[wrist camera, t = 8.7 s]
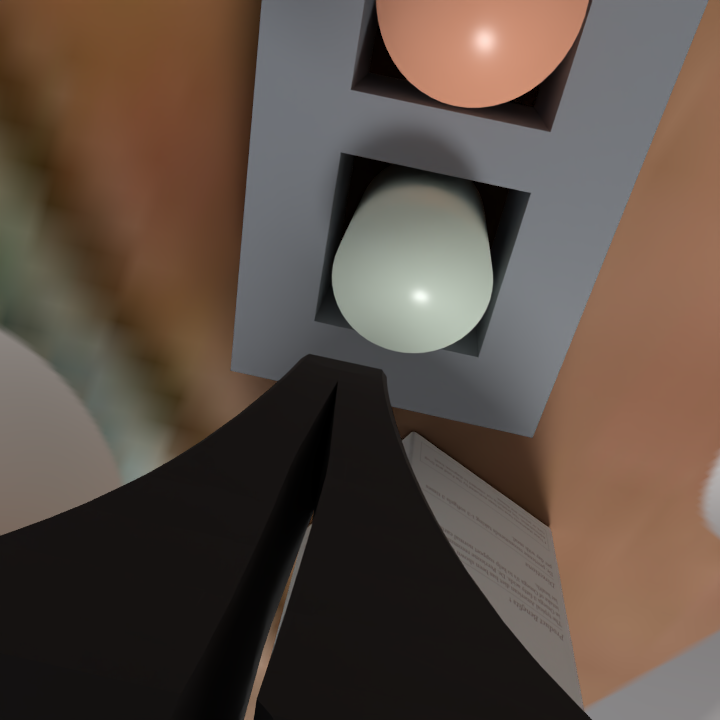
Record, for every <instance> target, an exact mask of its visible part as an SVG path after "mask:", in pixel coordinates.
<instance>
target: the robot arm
mask: <svg viewBox="0 0 720 720" xmlns="http://www.w3.org/2000/svg"><path fill="white" fill-rule="evenodd" d="M313 511H314V515H313V521H312V526H311V530H310V533H309V536H308V540H307V543H306V547H305V550H304V553H303V557H302V560H301V563H300V566H299V570H298V573H297V576H296V579H295V583H294V586H293V589H292V592H291V596H290V599H289V602H288V605H287V609H286V612H285V615H284V618H283V621H282V624H281V627H280V630H279V633H278V636H277V639H276V643H275V646H274V649H273V652H272V655H271V658H270V661H269V664H268V667H267V670H266V673H265V676H264V679H263V682H262V685H261V688H260V691H259V694H258V697H257V701H256V708H255V715H254V720H592V719H590V717H589V716H588V715H587V714H586V713H585V712H584V711H583V710H582V709H581V708H580V707H579V706H578V705H577V704H576V702H575V701H574V700H573V699H572V698H571V697H570V696H569V695H568V694H567V693H566V692H565V691H564V690H563V689H562V688H561V687H560V686H559V685H558V683H557V682H556V681H555V680H554V679H553V678H552V677H551V676H550V675H549V674H548V673H547V672H546V671H545V670H544V669H543V668H542V667H541V666H540V664H539V663H538V662H537V661H536V660H535V659H534V658H533V656H532V655H531V654H530V653H529V652H528V650H527V649H526V648H525V647H524V646H523V644H522V643H521V642H520V641H519V640H518V638H517V637H516V636H515V635H514V634H513V632H512V631H511V630H510V629H509V627H508V626H507V625H506V624H505V623H504V621H503V620H502V619H501V617H500V616H499V614H498V613H497V612H496V610H495V609H494V607H493V606H492V605H491V603H490V602H489V601H488V599H487V598H486V596H485V595H484V594H483V592H482V591H481V589H480V588H479V587H478V585H477V584H476V583H475V581H474V580H473V578H472V577H471V576H470V574H469V573H468V571H467V570H466V568H465V567H464V565H463V563H462V562H461V560H460V559H459V557H458V555H457V554H456V552H455V551H454V549H453V547H452V546H451V544H450V543H449V541H448V539H447V537H446V536H445V534H444V532H443V530H442V529H441V527H440V525H439V523H438V521H437V520H436V518H435V516H434V514H433V512H432V510H431V508H430V506H429V504H428V502H427V500H426V498H425V496H424V494H423V492H422V490H421V487H420V485H419V483H418V481H417V478H416V476H415V474H414V472H413V469H412V467H411V464H410V462H409V459H408V457H407V454H406V451H405V448H404V446H403V443H402V440H401V437H400V434H399V431H398V428H397V425H396V422H395V418H394V415H393V411H392V407H391V403H390V398H389V393H388V387H387V376H386V375H385V373H384V372H383V370H382V369H378V368H373V367H369V366H364V365H359V364H355V363H350V362H345V361H341V360H336V359H332V358H327V357H322V356H318V355H313V354H308V355H306V356H304V357H302V358H301V359H300V360H299V361H298V362H297V363H296V364H295V365H294V366H293V367H292V368H291V369H290V370H289V371H288V372H287V373H286V374H285V375H284V376H283V377H282V378H281V379H280V380H279V381H278V382H277V383H275V384H274V385H273V386H272V387H271V388H270V389H269V390H268V391H266V392H265V393H264V394H263V395H262V396H260V397H259V398H258V399H257V400H256V401H254V402H253V403H252V404H251V405H250V406H248V407H247V408H246V409H245V410H243V411H242V412H241V413H240V414H238V415H237V416H236V417H234V418H233V419H232V420H230V421H229V422H227V423H226V424H225V425H223V426H222V427H220V428H219V429H218V430H216V431H215V432H214V433H212V434H211V435H209V436H208V437H207V438H205V439H204V440H202V441H201V442H199V443H198V444H196V445H195V446H193V447H191V448H190V449H188V450H187V451H185V452H184V453H182V454H180V455H179V456H177V457H175V458H174V459H172V460H170V461H169V462H167V463H165V464H163V465H162V466H160V467H158V468H156V469H155V470H153V471H151V472H149V473H147V474H146V475H144V476H142V477H140V478H138V479H136V480H134V481H132V482H130V483H128V484H126V485H123V486H121V487H119V488H117V489H115V490H113V491H111V492H109V493H107V494H105V495H102V496H100V497H98V498H96V499H94V500H92V501H90V502H87V503H85V504H83V505H80V506H78V507H75V508H73V509H70V510H68V511H66V512H63V513H60V514H58V515H56V516H53V517H51V518H48V519H45V520H43V521H40V522H37V523H34V524H32V525H29V526H26V527H24V528H21V529H18V530H16V531H13V532H10V533H7V534H4V535H1V536H0V720H244V717H245V713H246V710H247V706H248V702H249V699H250V695H251V691H252V688H253V684H254V680H255V676H256V673H257V669H258V665H259V662H260V658H261V654H262V651H263V648H264V645H265V642H266V639H267V636H268V633H269V630H270V627H271V624H272V621H273V618H274V616H275V613H276V610H277V608H278V605H279V602H280V600H281V597H282V594H283V592H284V589H285V586H286V584H287V581H288V578H289V576H290V573H291V570H292V568H293V565H294V562H295V559H296V557H297V554H298V551H299V549H300V546H301V543H302V541H303V538H304V535H305V533H306V530H307V527H308V525H309V522H310V519H311V516H312V514H313Z"/></svg>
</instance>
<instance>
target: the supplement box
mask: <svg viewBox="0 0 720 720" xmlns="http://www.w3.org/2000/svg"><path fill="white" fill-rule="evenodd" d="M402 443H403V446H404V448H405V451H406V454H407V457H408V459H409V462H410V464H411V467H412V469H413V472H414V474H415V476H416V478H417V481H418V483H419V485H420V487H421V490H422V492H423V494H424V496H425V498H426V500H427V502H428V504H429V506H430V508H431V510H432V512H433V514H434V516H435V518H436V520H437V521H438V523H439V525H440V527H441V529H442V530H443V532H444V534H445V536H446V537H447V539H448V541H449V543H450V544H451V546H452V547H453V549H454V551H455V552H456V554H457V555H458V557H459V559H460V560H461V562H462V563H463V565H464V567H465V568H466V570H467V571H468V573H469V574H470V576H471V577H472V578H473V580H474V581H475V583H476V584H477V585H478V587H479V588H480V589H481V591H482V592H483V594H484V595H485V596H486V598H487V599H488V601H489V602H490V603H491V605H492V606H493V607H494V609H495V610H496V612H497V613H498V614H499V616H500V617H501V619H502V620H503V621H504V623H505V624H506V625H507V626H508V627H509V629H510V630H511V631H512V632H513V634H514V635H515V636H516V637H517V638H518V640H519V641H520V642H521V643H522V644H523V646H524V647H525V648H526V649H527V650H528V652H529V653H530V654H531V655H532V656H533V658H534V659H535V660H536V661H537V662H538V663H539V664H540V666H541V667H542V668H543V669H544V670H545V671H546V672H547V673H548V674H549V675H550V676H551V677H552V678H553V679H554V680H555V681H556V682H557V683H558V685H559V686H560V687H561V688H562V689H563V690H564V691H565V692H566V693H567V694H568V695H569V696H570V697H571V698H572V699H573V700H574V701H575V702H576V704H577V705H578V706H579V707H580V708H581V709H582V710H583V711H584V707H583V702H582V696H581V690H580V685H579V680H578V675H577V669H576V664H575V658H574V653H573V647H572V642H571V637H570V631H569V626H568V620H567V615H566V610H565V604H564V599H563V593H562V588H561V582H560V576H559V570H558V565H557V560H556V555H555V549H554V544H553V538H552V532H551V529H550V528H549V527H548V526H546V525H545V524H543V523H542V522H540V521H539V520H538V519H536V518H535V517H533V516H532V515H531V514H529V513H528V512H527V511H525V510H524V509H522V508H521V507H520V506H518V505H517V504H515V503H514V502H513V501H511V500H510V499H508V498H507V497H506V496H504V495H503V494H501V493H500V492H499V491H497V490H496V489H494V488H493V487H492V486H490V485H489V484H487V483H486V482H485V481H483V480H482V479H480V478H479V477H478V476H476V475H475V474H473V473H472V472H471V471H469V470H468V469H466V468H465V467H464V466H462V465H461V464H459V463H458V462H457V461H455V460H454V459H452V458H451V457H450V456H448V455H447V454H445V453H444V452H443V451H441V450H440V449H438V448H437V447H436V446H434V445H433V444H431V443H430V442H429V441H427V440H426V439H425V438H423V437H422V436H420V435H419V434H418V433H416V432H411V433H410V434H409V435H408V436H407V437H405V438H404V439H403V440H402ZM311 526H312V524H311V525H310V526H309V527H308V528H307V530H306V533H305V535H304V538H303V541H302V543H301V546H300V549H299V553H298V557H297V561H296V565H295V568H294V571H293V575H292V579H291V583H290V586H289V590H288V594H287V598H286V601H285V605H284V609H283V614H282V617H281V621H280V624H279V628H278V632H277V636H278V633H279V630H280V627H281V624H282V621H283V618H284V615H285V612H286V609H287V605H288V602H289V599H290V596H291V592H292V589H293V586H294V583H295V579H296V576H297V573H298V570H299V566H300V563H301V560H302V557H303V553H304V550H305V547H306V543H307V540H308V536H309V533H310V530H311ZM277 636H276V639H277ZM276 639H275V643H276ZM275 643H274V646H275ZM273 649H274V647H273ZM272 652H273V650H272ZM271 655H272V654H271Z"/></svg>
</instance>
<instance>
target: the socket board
mask: <svg viewBox="0 0 720 720" xmlns="http://www.w3.org/2000/svg"><path fill="white" fill-rule="evenodd" d="M707 3H708V0H589V2H588V6H587V10H586V14H585V17H584V20H583V23H582V25H581V28H580V31H579V33H578V35H577V37H576V39H575V41H574V43H573V45H572V47H571V48H570V50H569V51H568V53H567V54H566V56H565V57H564V59H563V60H562V61H561V62H560V64H559V65H558V66H557V67H556V68H555V70H554V71H553V72H552V73H551V74H550V75H549V76H547V77H546V78H545V79H544V80H543V81H542V82H541V85H540V88H539V92H538V95H537V98H536V101H535V105H534V107H530V106H526V105H521V104H516V103H512V102H505V103H502V104H498V105H494V106H488V107H481V108H466V107H459V106H453V105H450V104H446V103H443V102H440V101H438V100H436V99H434V98H431V97H430V96H428V95H426V94H425V93H423V92H422V91H420V90H419V89H418V88H416V87H415V86H414V85H413V84H412V83H410V82H409V81H407V80H402V79H398V78H393V77H388V76H384V75H379V74H374V73H369V71H370V65H371V59H372V53H373V48H374V42H375V36H376V30H377V24H378V16H377V7H376V0H262V5H261V17H260V29H259V40H258V52H257V64H256V76H255V88H254V100H253V112H252V123H251V135H250V147H249V159H248V171H247V183H246V195H245V206H244V218H243V230H242V242H241V254H240V266H239V278H238V289H237V301H236V313H235V325H234V337H233V349H232V361H231V371H235V372H239V373H244V374H248V375H253V376H257V377H262V378H266V379H271V380H275V381H279V380H280V379H281V378H282V377H283V376H284V375H285V374H286V373H287V372H288V371H289V370H290V369H291V368H292V367H293V366H294V365H295V364H296V363H297V362H298V361H299V360H300V359H301V358H302V357H304V356H306V355H308V354H313V355H318V356H322V357H327V358H332V359H336V360H341V361H345V362H350V363H355V364H359V365H364V366H369V367H373V368H378V369H382V370H383V372H384V373H385V375H386V376H387V387H388V393H389V398H390V403H391V406H392V407H396V408H401V409H405V410H410V411H414V412H419V413H423V414H428V415H432V416H437V417H441V418H446V419H450V420H455V421H459V422H464V423H468V424H473V425H477V426H482V427H486V428H491V429H495V430H500V431H504V432H509V433H513V434H518V435H522V436H527V437H531V438H533V435H534V433H535V430H536V428H537V425H538V423H539V420H540V418H541V415H542V413H543V410H544V408H545V405H546V403H547V400H548V398H549V395H550V393H551V390H552V388H553V385H554V383H555V380H556V378H557V375H558V373H559V371H560V368H561V366H562V363H563V361H564V358H565V356H566V353H567V351H568V348H569V346H570V343H571V341H572V338H573V336H574V333H575V331H576V328H577V326H578V323H579V321H580V318H581V316H582V313H583V311H584V308H585V306H586V303H587V301H588V298H589V296H590V294H591V291H592V289H593V286H594V284H595V281H596V279H597V276H598V274H599V271H600V269H601V266H602V264H603V261H604V259H605V256H606V254H607V251H608V249H609V246H610V244H611V241H612V239H613V236H614V234H615V231H616V229H617V226H618V224H619V221H620V219H621V216H622V214H623V212H624V209H625V207H626V204H627V202H628V199H629V197H630V194H631V192H632V189H633V187H634V184H635V182H636V179H637V177H638V174H639V172H640V169H641V167H642V164H643V162H644V159H645V157H646V154H647V152H648V149H649V147H650V144H651V142H652V139H653V137H654V134H655V132H656V130H657V127H658V125H659V122H660V120H661V117H662V115H663V112H664V110H665V107H666V105H667V102H668V100H669V97H670V95H671V92H672V90H673V87H674V85H675V82H676V80H677V77H678V75H679V72H680V70H681V67H682V65H683V62H684V60H685V57H686V55H687V53H688V50H689V48H690V45H691V43H692V40H693V38H694V35H695V33H696V30H697V28H698V25H699V23H700V20H701V18H702V15H703V13H704V10H705V8H706V5H707ZM355 155H356V156H361V157H365V158H370V159H375V160H379V161H384V162H389V163H393V164H398V165H403V166H407V167H412V168H417V169H421V170H426V171H431V172H435V173H440V174H445V175H449V176H454V177H459V178H463V179H468V180H473V181H477V182H482V183H487V184H491V185H496V186H501V187H505V188H509V191H508V195H507V198H506V201H505V204H504V208H503V211H502V214H501V218H500V221H499V224H498V228H497V231H496V234H495V238H494V241H493V244H492V248H491V251H490V255H491V263H492V271H493V287H492V293H491V298H490V301H489V304H488V306H487V309H486V311H485V313H484V314H483V316H482V318H481V319H480V321H479V322H478V323H477V325H476V326H475V327H474V328H473V329H472V330H471V331H470V332H469V333H468V334H466V335H465V336H464V337H463V338H461V339H460V340H458V341H456V342H455V343H453V344H451V345H449V346H447V347H444V348H441V349H438V350H435V351H430V352H425V353H403V352H397V351H393V350H389V349H385V348H383V347H381V346H378V345H376V344H374V343H372V342H370V341H369V340H367V339H366V338H364V337H363V336H361V335H360V334H359V333H358V332H357V331H356V330H355V329H354V328H352V326H351V325H350V324H349V323H348V322H347V320H346V319H345V317H344V316H343V314H342V313H341V311H340V309H339V307H338V305H337V302H336V299H335V296H334V291H333V286H332V270H333V263H334V259H335V256H336V253H337V250H338V248H339V246H340V242H341V236H342V230H343V224H344V219H345V213H346V207H347V201H348V195H349V189H350V183H351V177H352V171H353V166H354V160H355Z"/></svg>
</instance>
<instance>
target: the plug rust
mask: <svg viewBox="0 0 720 720" xmlns="http://www.w3.org/2000/svg"><path fill="white" fill-rule="evenodd" d="M588 2H589V0H376V7H377V16H378V22H379V26H380V31H381V35H382V38H383V40H384V43H385V46H386V48H387V50H388V52H389V54H390V56H391V58H392V60H393V62H394V63H395V65H396V66H397V67H398V69H399V70H400V72H401V73H402V74H403V75H404V76H405V77H406V78H407V80H408V81H409V82H410V83H412V84H413V85H414V86H415V87H416V88H418V89H419V90H420V91H422V92H423V93H425V94H426V95H428V96H430V97H431V98H434V99H436V100H438V101H440V102H443V103H446V104H450V105H453V106H459V107H466V108H481V107H488V106H494V105H498V104H502V103H505V102H508V101H510V100H513V99H515V98H517V97H519V96H521V95H523V94H525V93H526V92H528V91H530V90H531V89H533V88H534V87H535V86H537V85H538V84H539V83H541V82H542V81H543V80H544V79H545V78H546V77H547V76H549V75H550V74H551V73H552V72H553V71H554V70H555V68H556V67H557V66H558V65H559V64H560V62H561V61H562V60H563V59H564V57H565V56H566V54H567V53H568V51H569V50H570V48H571V47H572V45H573V43H574V41H575V39H576V37H577V35H578V33H579V31H580V28H581V25H582V23H583V20H584V17H585V14H586V10H587V6H588Z"/></svg>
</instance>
